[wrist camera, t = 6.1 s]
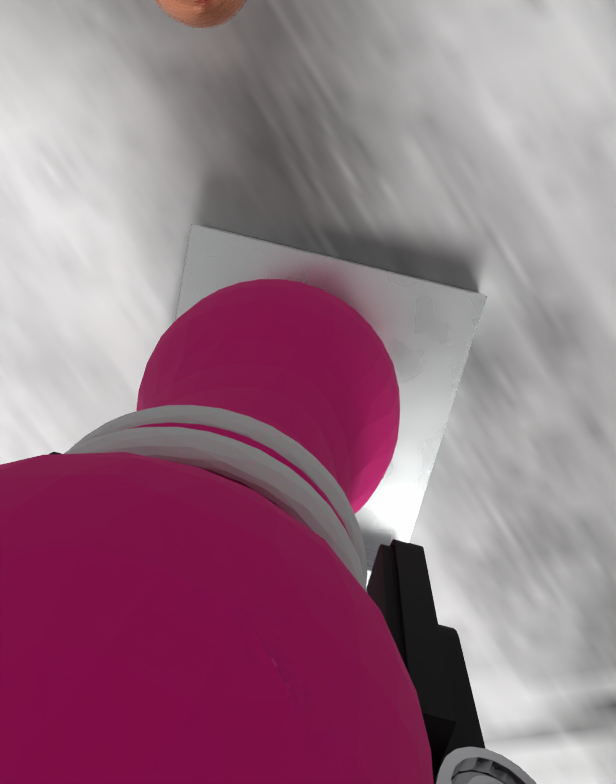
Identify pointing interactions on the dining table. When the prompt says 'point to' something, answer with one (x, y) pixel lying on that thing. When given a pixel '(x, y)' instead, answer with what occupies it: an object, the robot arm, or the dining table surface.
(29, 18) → the dining table surface
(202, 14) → the lever
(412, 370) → the press bed
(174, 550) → the pepper mill
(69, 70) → the dining table surface
